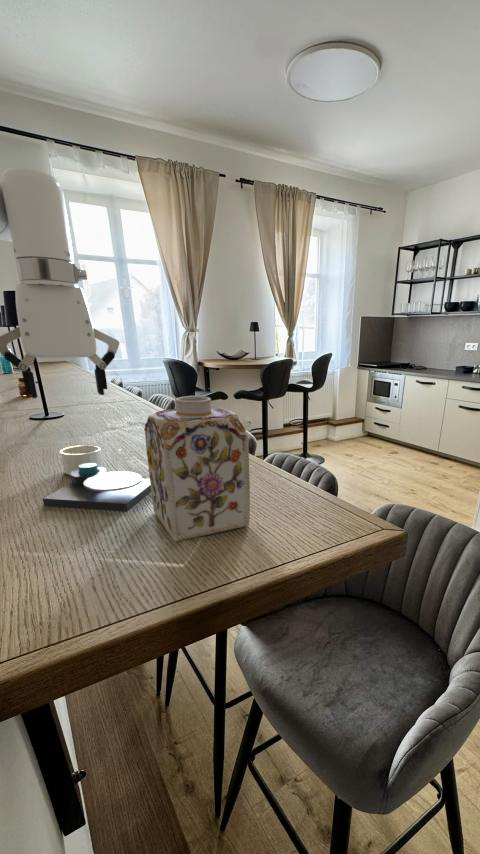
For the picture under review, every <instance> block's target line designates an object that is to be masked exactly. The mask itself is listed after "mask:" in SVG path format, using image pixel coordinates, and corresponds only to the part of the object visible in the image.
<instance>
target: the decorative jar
mask: <svg viewBox="0 0 480 854" xmlns="http://www.w3.org/2000/svg"><path fill="white" fill-rule="evenodd" d="M143 431H144V439H145V450H146V458H147V465H148V466H147V467H148V476H149V479H150V487H151V492H150V495H151V499H152V506H153V507H152V508H153V512H154V514H155V516H156V517H157V519H158V520H159V521H160V522H161V524H162V525H163V527H164V529H165V530H166V532H167V533H168V534H169V536H170V537H171V539H172V541H173V542H175V543H176V542H177V543H178V542H180V541H185V540H188V539H189V540H190V539H194V538H200V537H203V536H208V535H213V534H217V533H222V532H227V531H233V530H236V529H240V528H241V529H242V528H244V527H248V526H249V525H250V518H251V516H250V515H251V501H250V500H251V484H250V483H251V481H250V478H251V477H250V454H249V453H250V449H249V448H250V447H249V434H248V433H247V430H246V427H245V426H244V424H243V423H242V421H241V419H240V417H239V414H237V413H236V412H233V411H231V410H228V409H225V408H224V409H223V408H219V407H212V399H211V397H209V396H202V395H185V396H180V397H177V398H175V408H169V409H162V410H158V411H156V412H154V413H152V414H149V415H148V416H147V419H146V423H145V424H144V428H143Z"/></svg>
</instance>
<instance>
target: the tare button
mask: <svg viewBox="0 0 480 854" xmlns="http://www.w3.org/2000/svg"><path fill="white" fill-rule="evenodd" d="M78 467H79V473H80V475H91V474H96V473H98V468H97V464H95V463H85V464H81V465H79V466H78Z"/></svg>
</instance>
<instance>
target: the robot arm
mask: <svg viewBox="0 0 480 854" xmlns="http://www.w3.org/2000/svg"><path fill="white" fill-rule="evenodd" d="M68 218H69V217H68V211H67V205H66V199H65V194H64V190H63V187H62V185H61V183H60V182H59V180H58V179H57V178H55V177H54V176H53V175H51V174H49V173H46V172H44V171H42V170H38V169H34V168H29V167H11V168H7V169H5V170H4V171H3V172H2V173H1V176H0V241H2V242H10V243H11V242H12V247H13V252H14V257H15V263H16V268H17V272H18V277H19V282H20V283H17V284H15V287H14V291H15V292H14V293H15V295H14V297H15V308H16V316H17V322H18V326H17V327H15V328H13V329H12V330H9V331H8V332H6V333H4V334H2V335H0V354H1V355H2V356H3V357H4V359H5V360H6V361H8V362H9V363H11V364H12V365H13V366H14V367H15V368H17V369H18V370H20V371H21V375H22V380H23V384H24V388H25V393H31V398H32V399H37V398H38V396H39V393H38V389H37V383H36V380H35V374H34V370H32V367H31V365H32V364H33V362H34V361H35V360H36V358H39V359H40V358H41V359H49V358H51V359H53V358H55V359H60V358H61V359H63V358H67V359H68V358H69V359H70V358H73V359H74V358H88V359H89V360H90V361H91V362H92V363H93V364H94V365H95V369H93V370H94V377H95V378H94V379H95V384H96V390H97V391H96V392H97V394H98V395H100V396H104V395H105V391H104V390H108V382H107V376H106V369H107V367H109V365H110V364H111V363H112V361H113V360H114V359H115V357H116V354H117V352H118V349H119V347H120V341H119V340H118V339H116V338H113V337H112V336H110V335H108V334H106V333H104V332H102V331H100V330H98V329H97V328H94V326H93V325H94V324H93V320H92V315H91V312H90V308H89V305H88V300H87V297H86V294H85V290H84V289H83V288H82V287H79V285H78V284H79V283H80V282H82V281H88V274H87V270H86V269H84V270H83V269H81V268H78V266H76V264H75V259H74V252H73V245H72V238H71V233H70V225H69V219H68ZM18 339H20V341H21V344H22V349H23V350H24V353H25V355H24V357H22V359H21V358H20V357H18V355H16V354H15V353H13V352H12V350H11V349H10V348H9V344H10V343H12V342H14V341H16V340H18ZM97 340H99V341H100V342H103V343H105V344H106V345H107V346H108V347H107V349H106V352H105V353H104V354H103V356H102V357H100V356H99V355H98V354H97Z"/></svg>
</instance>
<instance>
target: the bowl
mask: <svg viewBox="0 0 480 854" xmlns="http://www.w3.org/2000/svg"><path fill="white" fill-rule="evenodd" d="M59 456H60V461H61V467H62V472H63V473H64V474H66V475H68V476H70V473H71V472H72V471H74V470H77V469H79V467H78V466H79V465H81V464H85V463H95V464H97V467H102V468H104V463H103V456H102V449H101V447H100V446H97V445H91V444H90V445H89V444H87V445H86V444H85V445H75V446H73V445H72V446H68V447H65V448H63V449H60V450H59Z"/></svg>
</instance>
